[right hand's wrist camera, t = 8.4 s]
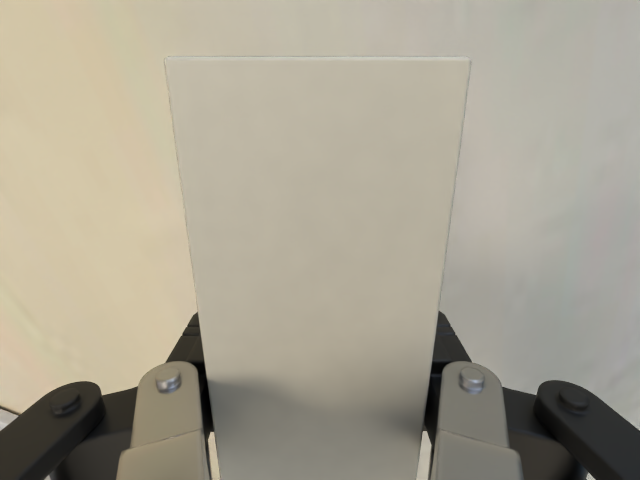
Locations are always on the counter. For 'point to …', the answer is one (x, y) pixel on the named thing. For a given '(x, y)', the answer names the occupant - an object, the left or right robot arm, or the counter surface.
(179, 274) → the counter surface
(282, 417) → the beam
